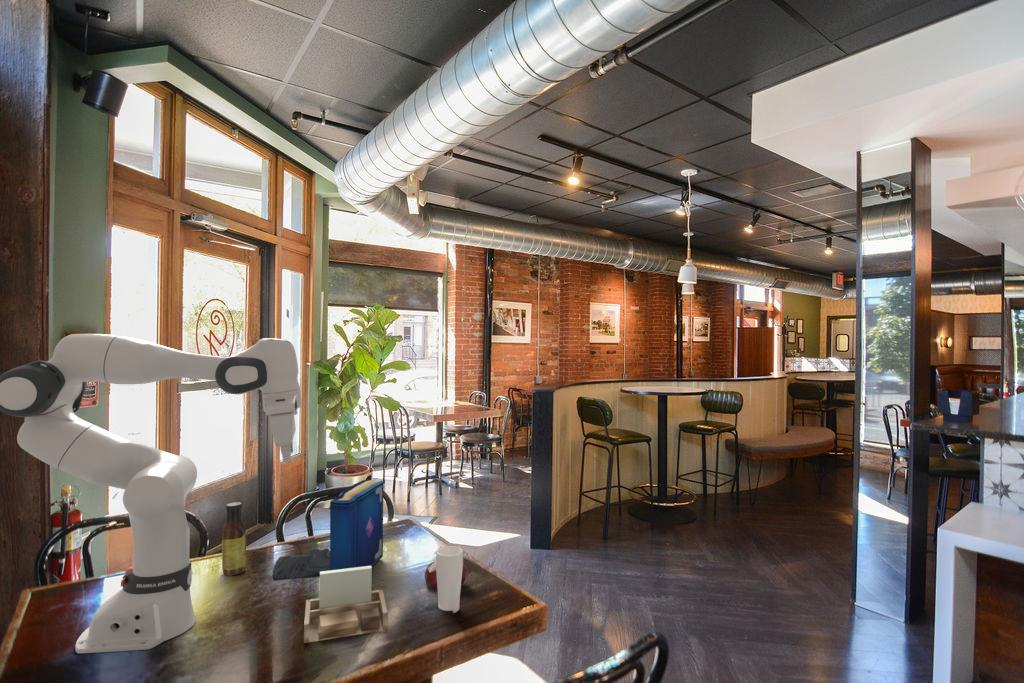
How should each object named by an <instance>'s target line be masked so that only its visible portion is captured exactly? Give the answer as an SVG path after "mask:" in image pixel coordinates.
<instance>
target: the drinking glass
mask: <svg viewBox="0 0 1024 683" xmlns="http://www.w3.org/2000/svg"><path fill="white" fill-rule="evenodd" d="M463 552H464V551H463V549H462V548H461V547H459V546H455V545H450V546H443V547H440V548H437V550H436V554H435V555H436V558H435V560H436V575H437V589H436V590H437V602H438V603H437V604H438V606H437V607H438V609H439V610H441V611H445V612H450V611H452V613H453V614H455V613H457V612H458V611H459V610H460V598H461V590H462V585H461V580H462V570H463V563H464V554H463Z"/></svg>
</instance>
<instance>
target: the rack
mask: <svg viewBox="0 0 1024 683" xmlns="http://www.w3.org/2000/svg"><path fill="white" fill-rule="evenodd" d="M372 608H378V610H379V615H380V624H379V629H374V630H368V631H361V610H365V609H372ZM351 610H356V614H357V618H358V626H357V627H356V634H350V635H343V636H337V637H331V638H324V639H318V632H319V619H320V616H322V615H328V614H334V613H339V612H345V611H351ZM388 618H389V617H388V608H387V604H386V599H385V595H384V590H383V589H377V590H371V602H367V603H360V604H353V605H345V606H338V607H331V608H324V609H319V597H318V598H311V599H310V598H309V599H306V600H305V610H304V622H303V623H304V624H303V644H305V643H306V644H308V643H314V642H319V641H320V642H321V641H325V640H332V639H339V638H345V637H352V636H357V635H364V634H370V633H375V632H376V633H377V632H383V631H388Z"/></svg>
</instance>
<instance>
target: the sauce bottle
mask: <svg viewBox="0 0 1024 683" xmlns="http://www.w3.org/2000/svg"><path fill="white" fill-rule="evenodd" d="M242 507H243V506H242V502H241V501H237V502H235V501H233V502H230V503H227V504H226V506H225V510H226V521H225V524H224V525H223V527H222V531H221V532H222V538H221V561H222V562H221V569H222V573H223V575H224V576H230V577H232V576H237V575H240V574H242V573H244V572H245V571H246V566H247V529H246V527H245V523H244V521H243V519H242Z"/></svg>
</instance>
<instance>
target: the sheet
mask: <svg viewBox="0 0 1024 683" xmlns="http://www.w3.org/2000/svg"><path fill="white" fill-rule="evenodd" d="M372 568H373V567H371V566H364V567H355V568H347V569H338V570H330V571H321V572H320V577H319V592H318V594H319V596H318V598H319V609H324V608H331V607H338V606H345V605H353V604H360V603H367V602H371V591H372V578H373V576H372V575H373V574H372V573H373V572H372V571H373V569H372Z"/></svg>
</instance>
